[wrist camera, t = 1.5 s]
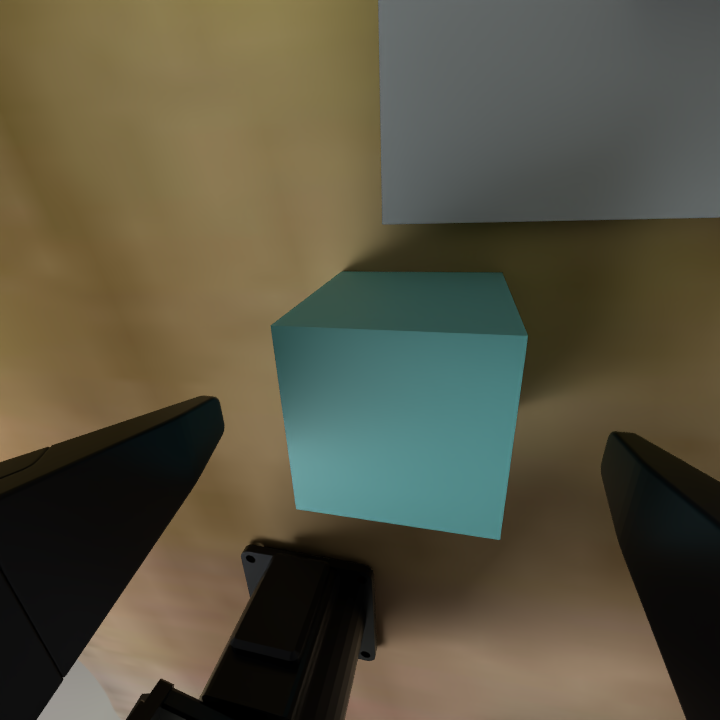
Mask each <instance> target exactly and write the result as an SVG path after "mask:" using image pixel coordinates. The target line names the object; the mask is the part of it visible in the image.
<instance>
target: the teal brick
mask: <svg viewBox="0 0 720 720" xmlns="http://www.w3.org/2000/svg"><path fill="white" fill-rule="evenodd" d="M271 331H272V339H273V346H274V353H275V360H276V367H277V374H278V382H279V389H280V396H281V403H282V410H283V418H284V425H285V432H286V439H287V446H288V453H289V461H290V468H291V475H292V482H293V489H294V496H295V504H296V509H299V510H305V511H312V512H319V513H325V514H332V515H338V516H345V517H352V518H358V519H365V520H371V521H378V522H385V523H391V524H398V525H404V526H411V527H418V528H424V529H431V530H437V531H444V532H451V533H457V534H464V535H470V536H477V537H484V538H490V539H497V540H500V535H501V528H502V521H503V514H504V507H505V499H506V492H507V485H508V478H509V470H510V463H511V456H512V449H513V441H514V434H515V427H516V420H517V413H518V405H519V398H520V391H521V384H522V376H523V369H524V362H525V355H526V347H527V340H528V335H527V332H526V330H525V327H524V325H523V322H522V320H521V317H520V315H519V313H518V310H517V308H516V305H515V303H514V300H513V298H512V295H511V293H510V291H509V288H508V286H507V283H506V281H505V278H504V276H503V273H502V272H349V271H342V272H340V273H339V274H338V275H336V276H335V277H334V278H332V279H331V280H330V281H329V282H327V283H326V284H325V285H323V286H322V287H321V288H319V289H318V290H317V291H315V292H314V293H313V294H311V295H310V296H309V297H308V298H306V299H305V300H304V301H302V302H301V303H300V304H298V305H297V306H296V307H294V308H293V309H292V310H290V311H289V312H288V313H287V314H285V315H284V316H283V317H281V318H280V319H279V320H277V321H276V322H275V323H273V324H272V325H271Z"/></svg>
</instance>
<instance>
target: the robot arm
mask: <svg viewBox="0 0 720 720" xmlns="http://www.w3.org/2000/svg"><path fill="white" fill-rule="evenodd" d="M223 432H224V420H223V415H222V411H221V406H220V402H219V400H218V399H217V398H216V397H213V396H199V397H196V398H193V399H190V400H187V401H184V402H181V403H178V404H175V405H172V406H169V407H166V408H163V409H160V410H157V411H154V412H151V413H148V414H145V415H142V416H139V417H136V418H133V419H130V420H127V421H124V422H121V423H118V424H115V425H112V426H109V427H106V428H103V429H100V430H97V431H94V432H91V433H88V434H85V435H82V436H79V437H76V438H73V439H70V440H67V441H64V442H61V443H58V444H55V445H52V446H51V447H45V448H42V449H39V450H36V451H33V452H30V453H27V454H24V455H21V456H18V457H15V458H12V459H9V460H6V461H3V462H0V720H37V718H38V717H39V715H40V714H41V712H42V711H43V709H44V708H45V706H46V705H47V703H48V702H49V700H50V699H51V697H52V696H53V694H54V693H55V692H56V690H57V689H58V687H59V686H60V684H61V683H62V681H63V677H65V676H66V675H67V673H68V672H69V670H70V669H71V667H72V666H73V664H74V663H75V662H76V660H77V659H78V657H79V656H80V654H81V653H82V651H83V650H84V648H85V647H86V645H87V644H88V642H89V641H90V639H91V638H92V636H93V635H94V634H95V632H96V631H97V629H98V628H99V626H100V625H101V623H102V622H103V620H104V619H105V617H106V616H107V614H108V613H109V611H110V610H111V608H112V607H113V605H114V604H115V603H116V601H117V600H118V598H119V597H120V595H121V594H122V592H123V591H124V589H125V588H126V586H127V585H128V583H129V582H130V580H131V579H132V577H133V576H134V574H135V573H136V572H137V570H138V569H139V567H140V566H141V564H142V563H143V561H144V560H145V558H146V557H147V555H148V554H149V552H150V551H151V549H152V548H153V546H154V545H155V543H156V542H157V541H158V539H159V538H160V536H161V535H162V533H163V532H164V530H165V529H166V527H167V526H168V524H169V523H170V521H171V520H172V518H173V517H174V515H175V514H176V512H177V511H178V510H179V508H180V507H181V505H182V504H183V502H184V501H185V499H186V498H187V496H188V495H189V493H190V492H191V490H192V489H193V487H194V486H195V484H196V482H197V481H198V479H199V477H200V476H201V474H202V472H203V470H204V468H205V466H206V464H207V463H208V461H209V459H210V457H211V455H212V453H213V452H214V450H215V448H216V446H217V444H218V442H219V440H220V439H221V437H222V435H223ZM601 475H602V480H603V484H604V488H605V492H606V496H607V500H608V504H609V508H610V512H611V516H612V520H613V524H614V528H615V532H616V535H617V539H618V542H619V545H620V548H621V551H622V554H623V556H624V559H625V561H626V564H627V567H628V569H629V572H630V574H631V577H632V580H633V582H634V585H635V588H636V590H637V593H638V595H639V598H640V601H641V603H642V606H643V608H644V611H645V614H646V616H647V619H648V621H649V624H650V627H651V629H652V632H653V634H654V637H655V640H656V642H657V645H658V647H659V650H660V653H661V655H662V658H663V660H664V663H665V666H666V668H667V671H668V673H669V676H670V679H671V681H672V684H673V686H674V689H675V692H676V694H677V697H678V699H679V702H680V705H681V707H682V710H683V712H684V715H685V718H686V720H720V482H719V481H717V480H716V479H714V478H712V477H710V476H709V475H707V474H705V473H703V472H702V471H700V470H698V469H696V468H695V467H693V466H691V465H689V464H688V463H686V462H684V461H682V460H681V459H679V458H677V457H675V456H674V455H672V454H670V453H668V452H667V451H665V450H663V449H661V448H660V447H658V446H656V445H654V444H653V443H651V442H649V441H647V440H646V439H644V438H642V437H640V436H639V435H637V434H635V433H629V432H617V431H615V432H612V433H610V435H609V436H608V439H607V443H606V447H605V451H604V455H603V459H602V463H601ZM241 559H242V563H243V568H244V572H245V576H246V581H247V585H248V590H249V594H250V599H249V601H248V603H247V605H246V607H245V609H244V611H243V613H242V615H241V617H240V619H239V621H238V623H237V625H236V627H235V629H234V631H233V633H232V635H231V637H230V639H229V641H228V643H227V645H226V647H225V649H224V651H223V653H222V655H221V657H220V658H219V660H218V662H217V664H216V666H215V668H214V670H213V672H212V674H211V676H210V678H209V680H208V682H207V684H206V686H205V688H204V690H203V692H202V694H201V696H200V698H199V700H198V699H196V698H194V697H192V696H190V695H187V694H185V693H183V692H181V691H179V690H177V689H175V688H174V684H172V683H170V682H168V681H166V680H163V679H160V680H159V681H158V683H157V684H156V686H155V687H154V689H153V690H152V692H151V693H150V694H142V695H141V696H140V698H139V700H138V701H137V703H136V704H135V706H134V708H133V709H132V711H131V712H130V714H129V716H128V717H127V719H126V720H345V716H346V711H347V706H348V702H349V697H350V693H351V688H352V684H353V679H354V675H355V670H356V665H357V661H358V659H362V660H366V661H372V660H374V659H375V656H376V650H377V641H376V615H375V589H374V573H373V570H372V569H371V568H370V567H368V566H367V565H363V564H358V563H352V562H347V561H341V560H336V559H330V558H324V557H319V556H313V555H307V554H302V553H296V552H290V551H285V550H279V549H273V548H268V547H262V546H256V545H248V546H246V548H245V549H244V551H243V553H242V554H241Z"/></svg>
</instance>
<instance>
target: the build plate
mask: <svg viewBox="0 0 720 720" xmlns="http://www.w3.org/2000/svg"><path fill="white" fill-rule="evenodd" d="M378 8H379V64H380V121H381V178H382V224H429V223H477V222H525V221H573V220H620V219H668V218H716V217H720V0H378Z"/></svg>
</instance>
